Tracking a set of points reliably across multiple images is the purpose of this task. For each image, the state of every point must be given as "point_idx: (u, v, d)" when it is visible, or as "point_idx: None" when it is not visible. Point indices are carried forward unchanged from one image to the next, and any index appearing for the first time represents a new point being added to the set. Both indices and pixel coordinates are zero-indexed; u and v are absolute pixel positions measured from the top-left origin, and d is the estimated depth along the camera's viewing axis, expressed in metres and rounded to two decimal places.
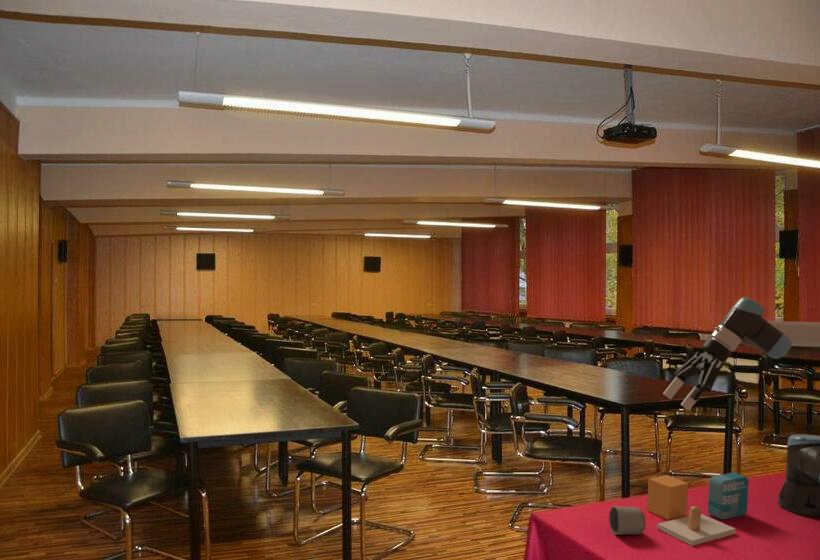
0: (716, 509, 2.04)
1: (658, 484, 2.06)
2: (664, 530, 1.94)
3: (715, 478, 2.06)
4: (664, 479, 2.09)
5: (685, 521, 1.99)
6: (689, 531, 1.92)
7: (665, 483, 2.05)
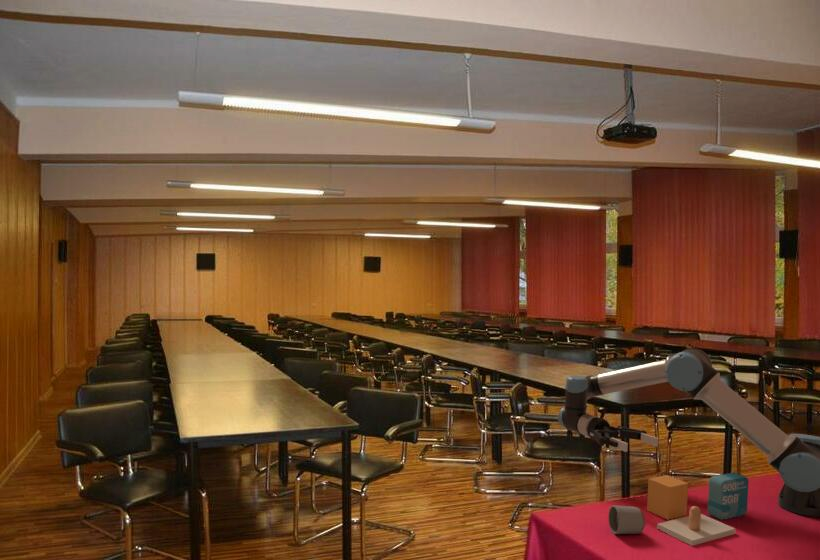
0: (716, 509, 2.04)
1: (658, 484, 2.06)
2: (664, 530, 1.94)
3: (715, 478, 2.06)
4: (664, 479, 2.09)
5: (685, 521, 1.99)
6: (689, 531, 1.92)
7: (665, 483, 2.05)
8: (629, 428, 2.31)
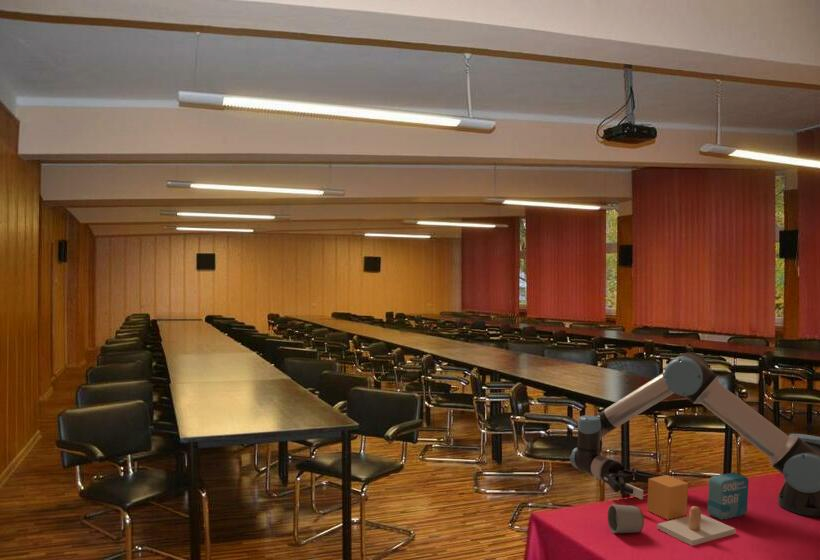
0: (716, 509, 2.04)
1: (658, 484, 2.06)
2: (664, 530, 1.94)
3: (715, 478, 2.06)
4: (664, 479, 2.09)
5: (685, 521, 1.99)
6: (689, 531, 1.92)
7: (665, 483, 2.05)
8: (644, 471, 2.25)
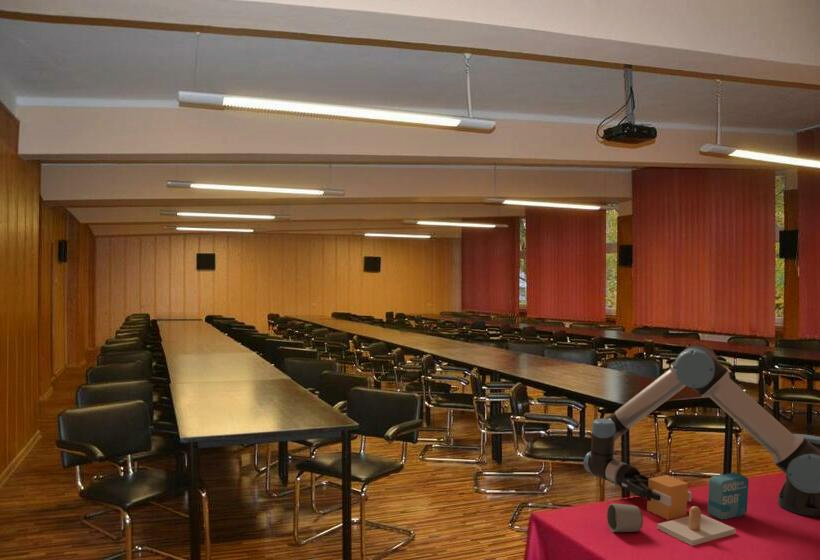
0: (716, 509, 2.04)
1: (658, 484, 2.06)
2: (664, 530, 1.94)
3: (715, 478, 2.06)
4: (664, 479, 2.09)
5: (685, 521, 1.99)
6: (689, 531, 1.92)
7: (665, 483, 2.05)
8: None
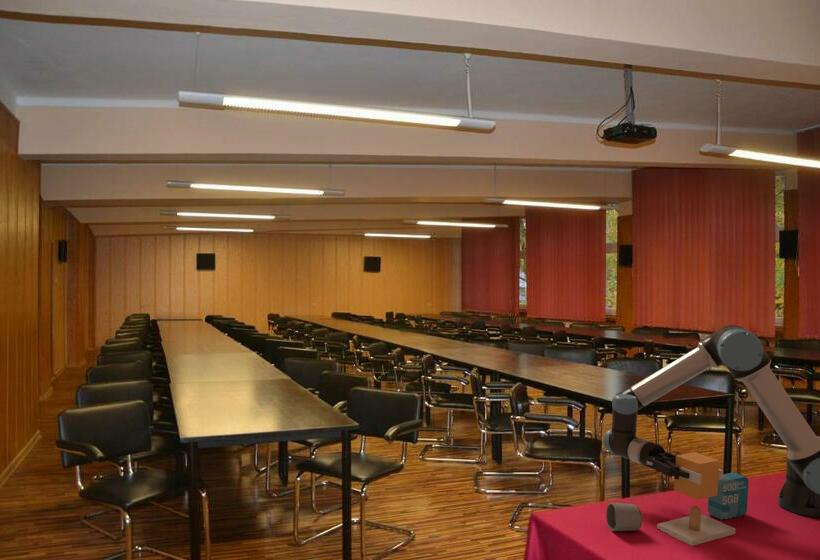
0: (716, 509, 2.04)
1: (687, 461, 1.91)
2: (664, 530, 1.94)
3: None
4: (693, 456, 1.94)
5: (685, 521, 1.99)
6: (689, 531, 1.92)
7: (694, 460, 1.90)
8: None
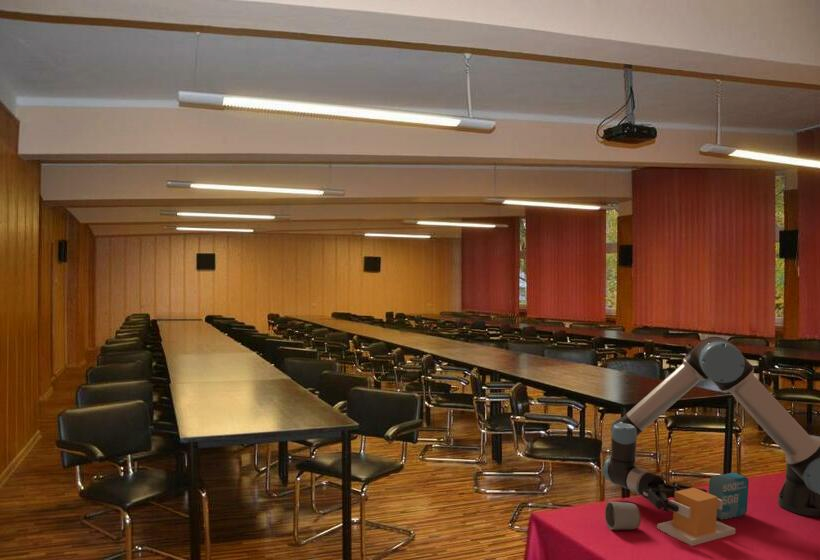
0: None
1: (685, 498, 1.91)
2: (664, 530, 1.94)
3: (715, 478, 2.06)
4: (691, 492, 1.94)
5: None
6: None
7: (693, 497, 1.91)
8: None
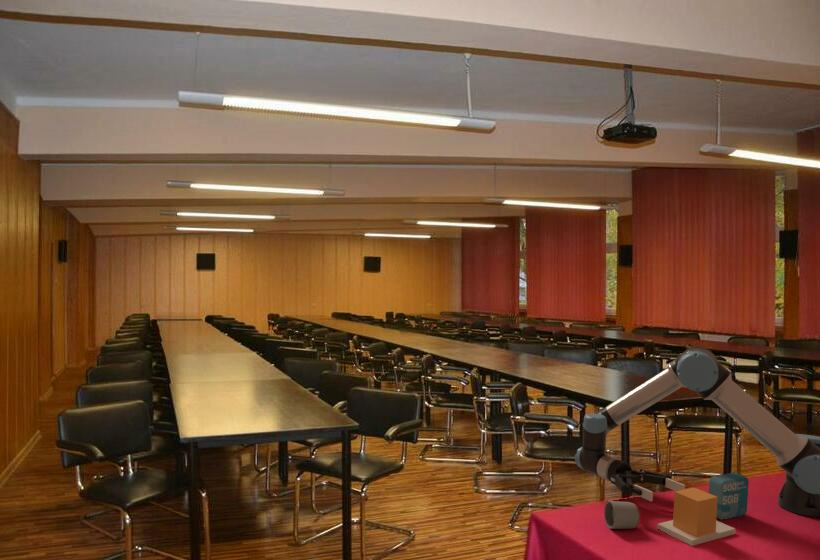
0: None
1: (685, 498, 1.91)
2: (664, 530, 1.94)
3: (715, 478, 2.06)
4: (691, 492, 1.94)
5: None
6: None
7: (693, 497, 1.91)
8: (652, 472, 2.16)
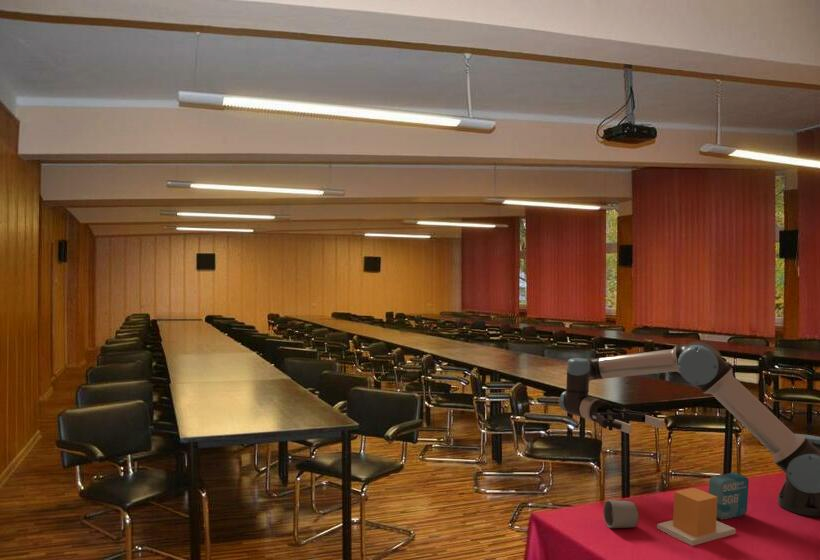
0: None
1: (685, 498, 1.91)
2: (664, 530, 1.94)
3: (715, 478, 2.06)
4: (691, 492, 1.94)
5: None
6: None
7: (693, 497, 1.91)
8: (633, 411, 2.23)
